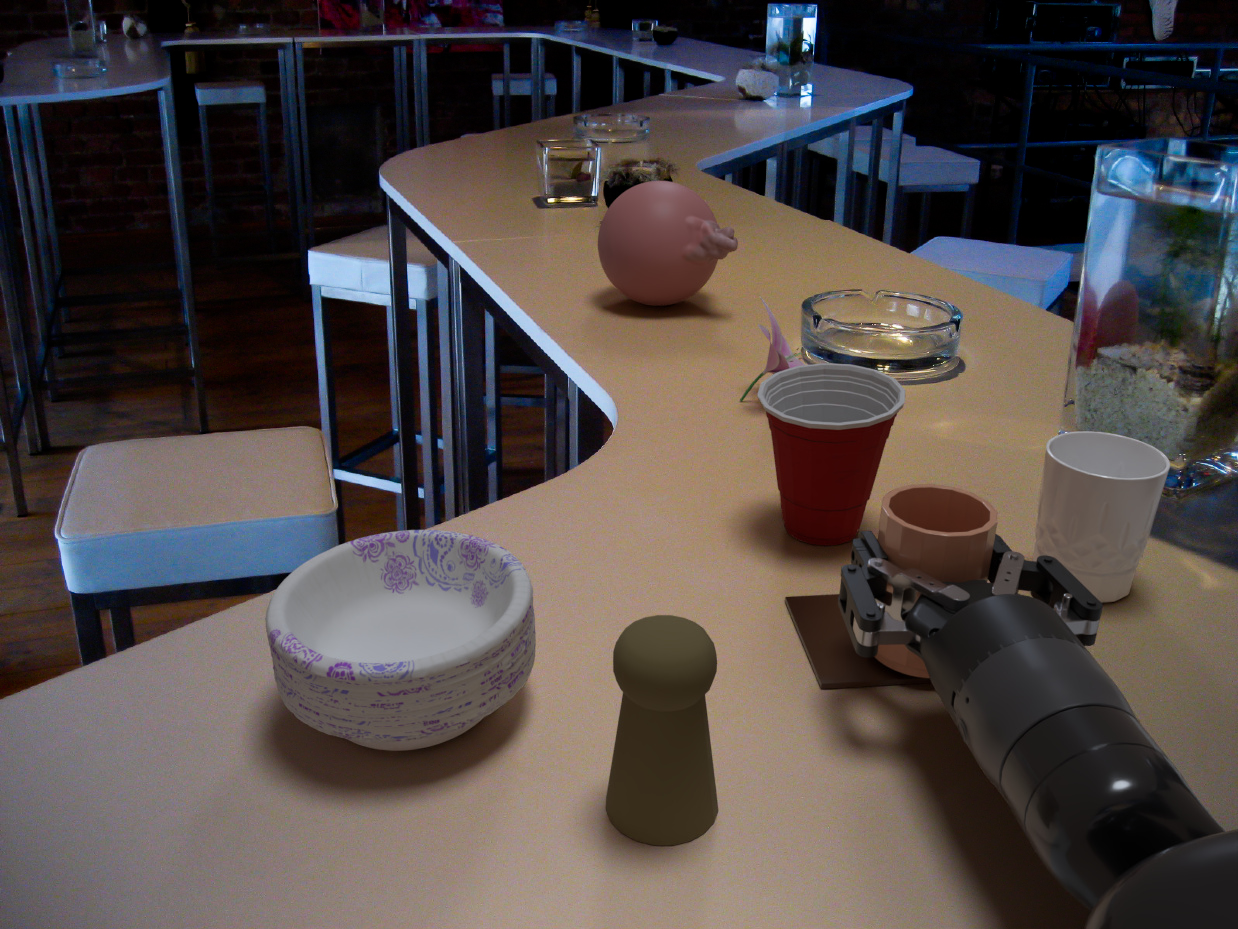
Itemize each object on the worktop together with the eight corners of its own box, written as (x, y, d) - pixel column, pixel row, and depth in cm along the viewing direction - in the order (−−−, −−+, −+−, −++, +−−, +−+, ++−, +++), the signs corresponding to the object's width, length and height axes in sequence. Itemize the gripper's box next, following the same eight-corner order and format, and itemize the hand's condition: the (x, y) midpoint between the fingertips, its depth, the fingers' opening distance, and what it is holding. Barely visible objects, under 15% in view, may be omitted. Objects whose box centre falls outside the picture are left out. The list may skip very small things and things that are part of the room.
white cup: (1035, 542, 83) (1058, 422, 79) (1147, 569, 80) (1176, 445, 75) (1012, 589, 77) (1035, 462, 73) (1131, 620, 74) (1162, 489, 69)
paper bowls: (251, 791, 59) (228, 671, 55) (315, 631, 73) (300, 527, 69) (531, 786, 59) (526, 667, 56) (543, 628, 73) (539, 524, 69)
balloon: (685, 339, 127) (688, 206, 120) (573, 302, 140) (571, 181, 133) (770, 311, 136) (778, 187, 130) (658, 279, 149) (660, 165, 143)
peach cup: (951, 615, 73) (972, 481, 68) (990, 675, 67) (1016, 533, 62) (853, 620, 72) (868, 486, 68) (884, 681, 66) (902, 538, 62)
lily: (776, 446, 102) (834, 361, 99) (683, 375, 106) (735, 291, 103) (817, 439, 112) (870, 362, 109) (731, 374, 116) (780, 298, 113)
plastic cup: (721, 526, 86) (727, 384, 81) (809, 485, 92) (820, 351, 87) (830, 580, 78) (844, 428, 73) (917, 532, 85) (936, 389, 80)
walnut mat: (978, 591, 77) (979, 587, 77) (1040, 677, 68) (1041, 671, 68) (784, 601, 76) (785, 596, 76) (821, 689, 67) (821, 683, 67)
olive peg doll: (581, 803, 58) (578, 631, 53) (659, 750, 62) (663, 585, 57) (664, 864, 54) (668, 685, 49) (741, 804, 58) (752, 632, 53)
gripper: (1187, 633, 53) (1038, 483, 68) (898, 649, 52) (812, 492, 67) (1154, 755, 56) (1019, 585, 71) (882, 772, 55) (803, 596, 70)
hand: (919, 541), depth 69 cm, fingers closed on peach cup, 6 cm apart
